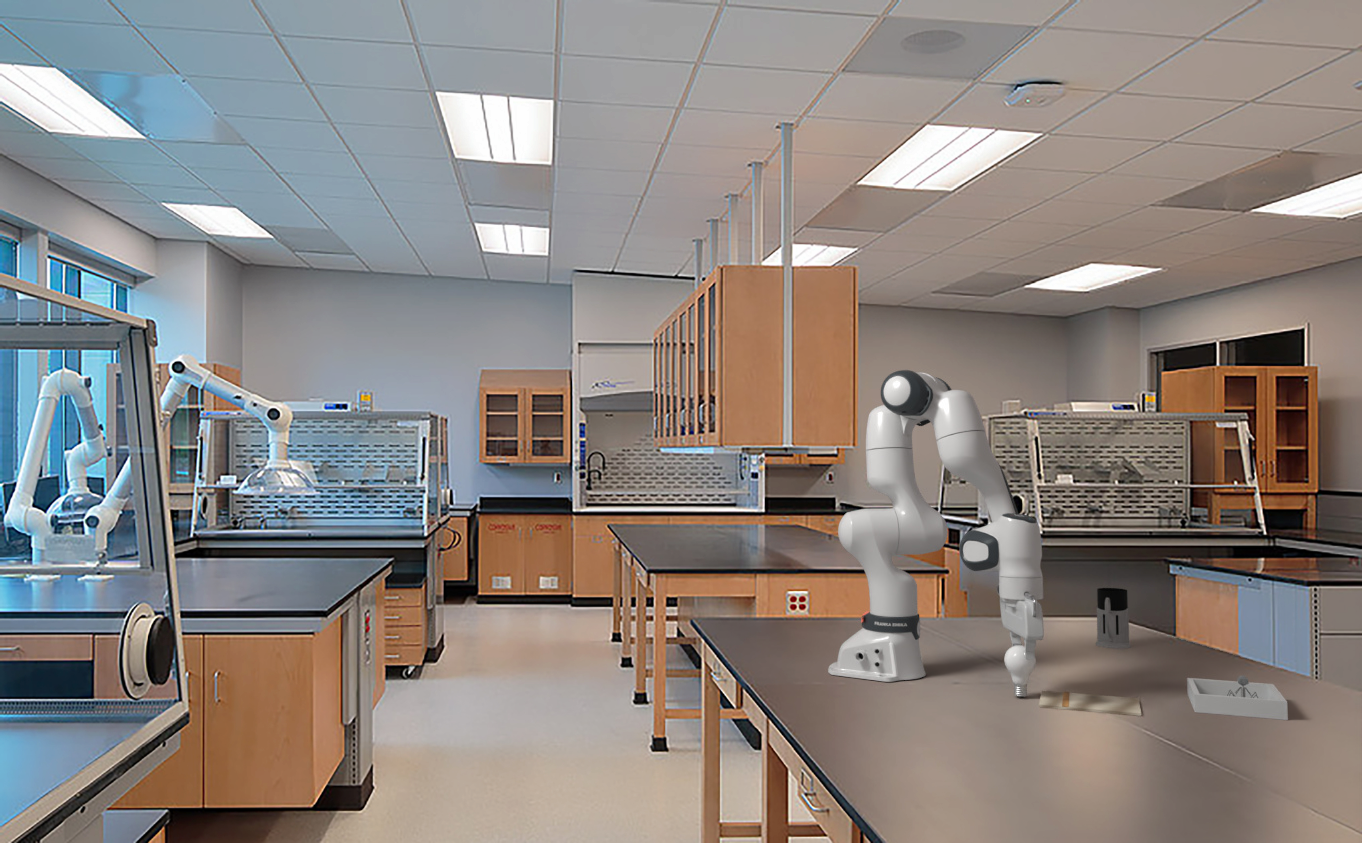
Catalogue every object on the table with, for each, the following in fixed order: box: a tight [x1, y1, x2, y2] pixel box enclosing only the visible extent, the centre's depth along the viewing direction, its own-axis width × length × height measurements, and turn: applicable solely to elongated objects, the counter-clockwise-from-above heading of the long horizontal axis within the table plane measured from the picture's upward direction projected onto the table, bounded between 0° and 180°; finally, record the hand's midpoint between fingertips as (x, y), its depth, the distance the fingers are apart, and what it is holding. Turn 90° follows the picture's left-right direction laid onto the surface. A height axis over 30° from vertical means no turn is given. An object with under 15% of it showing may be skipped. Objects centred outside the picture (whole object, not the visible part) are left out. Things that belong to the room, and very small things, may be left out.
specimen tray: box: [1186, 677, 1289, 721], centre depth 201 cm, size 16×16×4 cm
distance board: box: [1038, 690, 1142, 717], centre depth 204 cm, size 19×13×1 cm
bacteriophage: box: [1227, 674, 1258, 698], centre depth 201 cm, size 7×8×7 cm
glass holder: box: [1095, 587, 1132, 650], centre depth 264 cm, size 9×14×15 cm, turn 148°
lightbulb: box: [1003, 644, 1037, 699], centre depth 210 cm, size 6×6×11 cm
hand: (1023, 655), depth 209 cm, fingers open, 8 cm apart
